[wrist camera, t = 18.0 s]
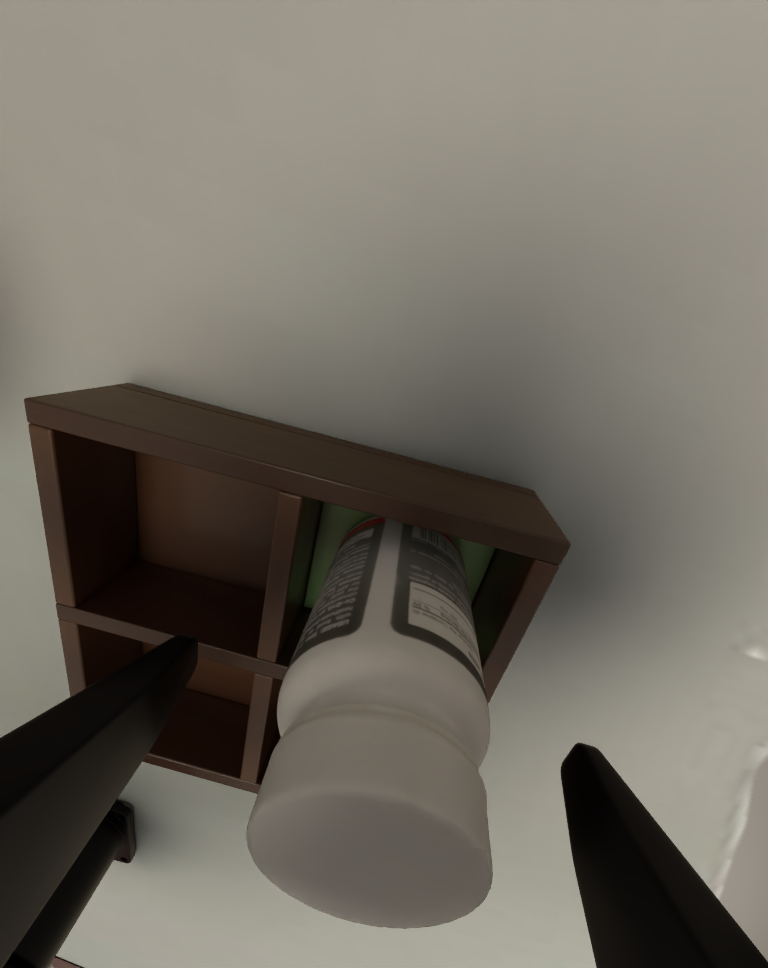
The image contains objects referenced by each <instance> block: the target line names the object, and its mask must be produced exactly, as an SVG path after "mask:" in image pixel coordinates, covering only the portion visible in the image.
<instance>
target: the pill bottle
mask: <svg viewBox="0 0 768 968" xmlns="http://www.w3.org/2000/svg"><path fill="white" fill-rule="evenodd" d="M277 722H278V728H279V732H280V736H281V738H280V740H279V742H278V744H277V745H276V747H275V749H274V750H273V753H272V755H271V758H270V761H269V764H268V767H267V770H266V773H265V775H264V778H263V781H262V784H261V787H260V790H259V793H258V795H257V798H256V801H255V804H254V807H253V810H252V813H251V816H250V819H249V823H248V827H247V843H248V848H249V851H250V854H251V856H252V858H253V860H254V862H255V864H256V865H257V867H258V868H259V869H260V871H261V872H262V873H263V874H264V875H265V876H266V877H267V878H268V879H269V880H270V881H271V882H272V883H274V884H275V885H276V886H277V887H279V888H280V889H281V890H282V891H284V892H286V893H287V894H289V895H290V896H292V897H294V898H295V899H297V900H299V901H301V902H303V903H304V904H306V905H308V906H310V907H312V908H314V909H316V910H318V911H321V912H324V913H327V914H330V915H332V916H335V917H337V918H341V919H344V920H348V921H352V922H356V923H360V924H365V925H370V926H377V927H388V928H404V929H406V928H420V927H430V926H436V925H440V924H444V923H447V922H451V921H454V920H456V919H458V918H461V917H463V916H465V915H467V914H469V913H470V912H472V911H473V910H474V909H475V908H477V907H478V906H479V905H480V904H481V903H482V902H483V901H484V900H485V898H486V897H487V894H488V892H489V890H490V889H491V884H492V875H493V872H492V858H491V849H490V840H489V830H488V818H487V796H486V790H485V787H484V783H483V781H482V778H481V776H480V774H479V771H478V768H479V767H480V765H481V763H482V761H483V759H484V757H485V755H486V753H487V749H488V744H489V738H490V719H489V709H488V701H487V694H486V690H485V685H484V679H483V673H482V667H481V661H480V656H479V650H478V644H477V638H476V632H475V627H474V622H473V616H472V610H471V603H470V598H469V592H468V586H467V580H466V574H465V566H464V563H463V559H462V556H461V553H460V551H459V549H458V547H457V545H456V543H455V542H454V541H453V539H452V538H451V537H450V536H449V535H446V534H442V533H439V532H435V531H431V530H427V529H424V528H420V527H416V526H412V525H409V524H405V523H401V522H397V521H394V520H390V519H386V518H383V517H379V516H373V517H370V518H368V519H365V520H364V521H362V522H360V523H359V524H357V525H356V526H355V527H353V528H352V529H351V530H350V531H349V532H348V533H347V534H346V536H345V537H344V539H343V540H342V542H341V544H340V545H339V547H338V550H337V552H336V554H335V556H334V559H333V561H332V563H331V566H330V568H329V571H328V573H327V575H326V578H325V580H324V582H323V585H322V587H321V590H320V592H319V594H318V597H317V599H316V601H315V604H314V606H313V609H312V611H311V613H310V616H309V618H308V621H307V623H306V626H305V628H304V630H303V633H302V635H301V638H300V640H299V642H298V645H297V647H296V650H295V652H294V655H293V657H292V659H291V662H290V664H289V667H288V669H287V672H286V674H285V677H284V679H283V682H282V686H281V689H280V692H279V697H278V704H277Z"/></svg>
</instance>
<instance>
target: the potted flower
mask: <svg viewBox="0 0 768 968" xmlns="http://www.w3.org/2000/svg"><path fill="white" fill-rule="evenodd" d="M48 968H80V967H77V966H75V965H72V964H70V963H68V962H65V961H63V960H60V959H58V958H55V957H54V959H53V961H52V962H51V964H50V966H49V967H48Z"/></svg>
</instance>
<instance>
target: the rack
mask: <svg viewBox="0 0 768 968" xmlns="http://www.w3.org/2000/svg"><path fill="white" fill-rule="evenodd" d="M24 403H25V409H26V416H27V421H28V422H29V423H31V424H29V433H30V439H31V445H32V452H33V458H34V464H35V471H36V477H37V484H38V490H39V496H40V503H41V509H42V515H43V522H44V528H45V535H46V541H47V547H48V554H49V560H50V567H51V573H52V579H53V586H54V592H55V598H56V602H57V603H56V608H57V614H58V618H59V626H60V632H61V639H62V645H63V651H64V658H65V664H66V670H67V677H68V683H69V689H70V696H73V695H75V694H77V693H78V692H80V691H82V690H83V689H85V688H87V687H88V686H90V685H92V684H94V683H95V682H97V681H99V680H100V679H102V678H104V677H106V676H107V675H109V674H111V673H112V672H114V671H116V670H118V669H119V668H121V667H123V666H124V665H126V664H128V663H129V662H131V661H133V660H135V659H136V658H138V657H140V656H141V655H143V654H145V653H147V652H148V651H150V650H152V649H153V648H155V647H157V646H159V645H160V644H162V643H164V642H165V641H167V640H169V639H170V638H172V637H174V636H176V635H178V634H181V633H183V634H187V635H191V636H195V637H197V639H198V661H197V666H196V669H195V671H194V673H193V675H192V677H191V678H190V680H189V682H188V684H187V686H186V687H185V689H184V691H183V693H182V695H181V696H180V698H179V700H178V702H177V704H176V705H175V707H174V709H173V711H172V713H171V714H170V716H169V718H168V720H167V722H166V723H165V725H164V727H163V729H162V731H161V732H160V734H159V736H158V738H157V739H156V741H155V743H154V744H153V746H152V747H151V749H150V750H149V752H148V754H147V755H146V757H145V758H144V760H143V761H142V762H146V763H150V764H153V765H157V766H160V767H164V768H167V769H171V770H174V771H178V772H182V773H185V774H189V775H192V776H196V777H199V778H203V779H206V780H210V781H214V782H217V783H221V784H224V785H228V786H231V787H235V788H238V789H242V790H246V791H249V792H253V793H256V794H258V793H259V790H260V787H261V784H262V781H263V778H264V775H265V773H266V770H267V767H268V764H269V761H270V758H271V755H272V753H273V750H274V749H275V747H276V745H277V744H278V742H279V740H280V738H281V736H280V732H279V728H278V722H277V704H278V697H279V692H280V689H281V686H282V682H283V679H284V677H285V674H286V672H287V669H288V667H289V664H290V662H291V659H292V657H293V655H294V652H295V650H296V647H297V645H298V642H299V640H300V638H301V635H302V633H303V630H304V628H305V626H306V623H307V621H308V618H309V616H310V613H311V611H312V609H313V606H314V604H315V601H316V599H317V597H318V594H319V592H320V590H321V587H322V585H323V582H324V580H325V578H326V575H327V573H328V571H329V568H330V566H331V563H332V561H333V559H334V556H335V554H336V552H337V550H338V547H339V545H340V544H341V542H342V540H343V539H344V537H345V536H346V534H347V533H348V532H349V531H350V530H351V529H352V528H353V527H355V526H356V525H357V524H359V523H360V522H362V521H364V520H365V519H368V518H370V517H373V516H379V517H383V518H386V519H390V520H394V521H397V522H401V523H405V524H409V525H412V526H416V527H420V528H424V529H427V530H431V531H435V532H439V533H442V534H446V535H449V536H450V537H451V538H452V539H453V541H454V542H455V543H456V545H457V547H458V549H459V551H460V553H461V556H462V559H463V563H464V566H465V574H466V580H467V586H468V592H469V598H470V603H471V610H472V616H473V622H474V627H475V632H476V638H477V644H478V650H479V656H480V661H481V667H482V673H483V679H484V685H485V690H486V694H487V701H488V703H489V701H490V699H491V697H492V695H493V693H494V691H495V689H496V687H497V685H498V684H499V682H500V680H501V678H502V676H503V674H504V672H505V670H506V668H507V666H508V664H509V662H510V661H511V659H512V657H513V655H514V653H515V651H516V649H517V647H518V645H519V643H520V641H521V640H522V638H523V636H524V634H525V632H526V630H527V628H528V626H529V624H530V622H531V620H532V618H533V617H534V615H535V613H536V611H537V609H538V607H539V605H540V603H541V601H542V599H543V597H544V595H545V594H546V592H547V590H548V588H549V586H550V584H551V582H552V580H553V578H554V576H555V574H556V572H557V571H558V569H559V565H560V564H561V563H562V561H563V559H564V557H565V555H566V553H567V552H568V550H569V548H570V545H571V544H570V542H569V541H568V539H567V538H566V536H565V535H564V533H563V532H562V531H561V529H560V528H559V526H558V525H557V523H556V522H555V521H554V519H553V518H552V516H551V515H550V513H549V512H548V510H547V509H546V508H545V506H544V505H543V503H542V502H541V500H540V499H539V498H538V496H537V494H536V493H535V492H534V491H533V490H529V489H525V488H522V487H518V486H514V485H510V484H507V483H503V482H499V481H495V480H491V479H488V478H484V477H480V476H476V475H473V474H469V473H465V472H461V471H457V470H454V469H450V468H446V467H442V466H439V465H435V464H431V463H427V462H424V461H420V460H416V459H412V458H408V457H405V456H401V455H397V454H393V453H390V452H386V451H382V450H378V449H374V448H371V447H367V446H363V445H359V444H356V443H352V442H348V441H344V440H340V439H337V438H333V437H329V436H325V435H322V434H318V433H314V432H310V431H306V430H303V429H299V428H295V427H291V426H288V425H284V424H280V423H276V422H272V421H269V420H265V419H261V418H257V417H254V416H250V415H246V414H242V413H238V412H235V411H231V410H227V409H223V408H220V407H216V406H212V405H208V404H205V403H201V402H197V401H193V400H189V399H186V398H182V397H178V396H174V395H171V394H167V393H163V392H159V391H155V390H152V389H148V388H144V387H140V386H137V385H133V384H129V383H125V384H118V385H112V386H105V387H98V388H92V389H85V390H78V391H71V392H64V393H58V394H51V395H44V396H37V397H30V398H25V399H24Z"/></svg>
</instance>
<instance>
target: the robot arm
mask: <svg viewBox="0 0 768 968" xmlns="http://www.w3.org/2000/svg"><path fill="white" fill-rule="evenodd" d="M197 661H198V639H197V637H195V636H191V635H187V634H183V633H181V634H178V635H176V636H174V637H172V638H170V639H169V640H167V641H165V642H164V643H162V644H160V645H159V646H157V647H155V648H153V649H152V650H150V651H148V652H147V653H145V654H143V655H141V656H140V657H138V658H136V659H135V660H133V661H131V662H129V663H128V664H126V665H124V666H123V667H121V668H119V669H118V670H116V671H114V672H112V673H111V674H109V675H107V676H106V677H104V678H102V679H100V680H99V681H97V682H95V683H94V684H92V685H90V686H88V687H87V688H85V689H83V690H82V691H80V692H78V693H77V694H75V695H73V696H71V697H70V698H68V699H66V700H65V701H63V702H61V703H59V704H58V705H56V706H54V707H53V708H51V709H49V710H48V711H46V712H44V713H42V714H41V715H39V716H37V717H36V718H34V719H32V720H30V721H29V722H27V723H25V724H24V725H22V726H20V727H18V728H17V729H15V730H13V731H12V732H10V733H8V734H7V735H5V736H3V737H1V738H0V968H48V967H49V966H50V964H51V962H52V961H53V959H54V957H55V956H56V954H57V953H58V951H59V949H60V948H61V946H62V944H63V943H64V941H65V939H66V938H67V936H68V934H69V933H70V931H71V929H72V928H73V926H74V924H75V923H76V921H77V919H78V918H79V916H80V914H81V913H82V911H83V909H84V908H85V906H86V905H87V903H88V901H89V900H90V898H91V896H92V895H93V893H94V891H95V890H96V888H97V886H98V885H99V883H100V881H101V880H102V878H103V876H104V875H105V873H106V871H107V870H108V868H109V866H110V865H111V863H112V862H113V860H117V861H120V862H124V863H130V862H131V860H132V859H133V857H134V855H135V846H134V832H133V818H132V810H131V809H130V808H128V807H126V806H124V805H120V804H117V803H114V802H115V801H116V799H117V798H118V796H119V795H120V793H121V792H122V790H123V789H124V788H125V786H126V785H127V783H128V782H129V780H130V779H131V777H132V776H133V774H134V773H135V771H136V770H137V768H138V767H139V765H140V764H141V762H142V761H143V760H144V758H145V757H146V755H147V754H148V752H149V750H150V749H151V747H152V746H153V744H154V743H155V741H156V739H157V738H158V736H159V734H160V732H161V731H162V729H163V727H164V725H165V723H166V722H167V720H168V718H169V716H170V714H171V713H172V711H173V709H174V707H175V705H176V704H177V702H178V700H179V698H180V696H181V695H182V693H183V691H184V689H185V687H186V686H187V684H188V682H189V680H190V678H191V677H192V675H193V673H194V671H195V669H196V666H197ZM561 780H562V787H563V794H564V801H565V808H566V815H567V823H568V830H569V837H570V844H571V850H572V856H573V862H574V867H575V872H576V877H577V881H578V886H579V890H580V895H581V899H582V904H583V908H584V913H585V917H586V922H587V926H588V931H589V935H590V940H591V944H592V949H593V953H594V958H595V962H596V967H597V968H768V962H767V961H766V959H765V958H764V957H763V955H762V954H761V953H760V952H759V950H758V949H757V948H756V947H755V945H754V944H753V943H752V941H751V940H750V939H749V938H748V937H747V935H746V934H745V933H744V931H743V930H742V929H741V928H740V926H739V925H738V924H737V923H736V921H735V920H734V919H733V918H732V916H731V915H730V914H729V913H728V911H727V910H726V909H725V908H724V907H723V905H722V904H721V903H720V901H719V900H718V899H717V898H716V896H715V895H714V894H713V892H712V891H711V890H710V889H709V887H708V886H707V885H706V884H705V882H704V881H703V880H702V879H701V877H700V876H699V875H698V874H697V872H696V871H695V870H694V869H693V867H692V866H691V865H690V864H689V862H688V861H687V860H686V859H685V857H684V856H683V855H682V854H681V852H680V851H679V850H678V849H677V847H676V846H675V845H674V843H673V842H672V841H671V840H670V838H669V837H668V836H667V835H666V833H665V832H664V831H663V830H662V828H661V827H660V826H659V825H658V823H657V822H656V821H655V820H654V818H653V817H652V816H651V815H650V813H649V812H648V811H647V810H646V808H645V807H644V806H643V805H642V803H641V802H640V801H639V800H638V798H637V797H636V796H635V794H634V793H633V792H632V791H631V789H630V788H629V787H628V786H627V784H626V783H625V782H624V781H623V779H622V778H621V777H620V776H619V774H618V773H617V772H616V771H615V769H614V768H613V767H612V766H611V764H610V763H609V762H608V761H607V759H606V758H605V757H604V756H603V754H602V753H601V752H600V751H599V750H598V749H597V748H595V747H593V746H590V745H586V744H583V743H577V744H575V745H574V747H573V748H572V750H571V751H570V752H569V754H568V755H567V757H566V758H565V759H564V761H563V763H562V766H561Z"/></svg>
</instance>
